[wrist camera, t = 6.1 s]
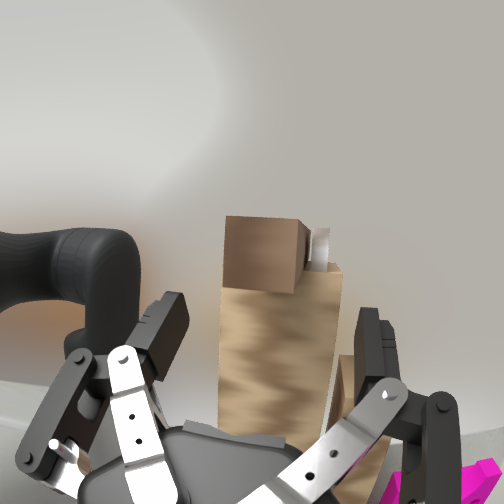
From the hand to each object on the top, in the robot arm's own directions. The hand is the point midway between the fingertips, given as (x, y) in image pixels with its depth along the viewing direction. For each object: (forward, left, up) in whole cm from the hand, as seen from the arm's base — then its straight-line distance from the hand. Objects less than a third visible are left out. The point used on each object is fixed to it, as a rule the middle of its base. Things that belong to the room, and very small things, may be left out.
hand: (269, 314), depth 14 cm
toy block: (+22, +15, -30) cm, 40 cm away
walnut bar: (-1, +12, +1) cm, 12 cm away
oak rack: (+3, +14, -30) cm, 33 cm away
